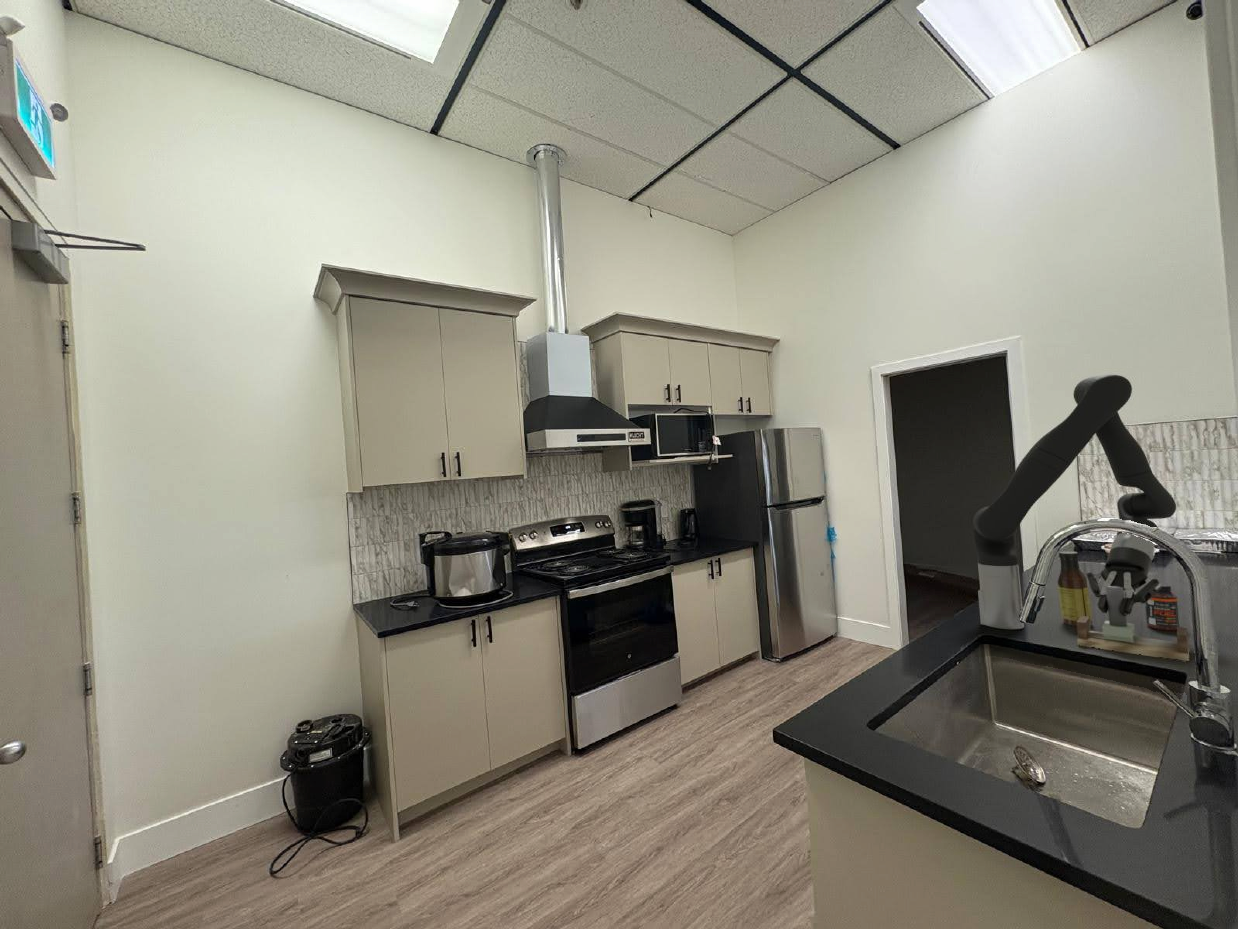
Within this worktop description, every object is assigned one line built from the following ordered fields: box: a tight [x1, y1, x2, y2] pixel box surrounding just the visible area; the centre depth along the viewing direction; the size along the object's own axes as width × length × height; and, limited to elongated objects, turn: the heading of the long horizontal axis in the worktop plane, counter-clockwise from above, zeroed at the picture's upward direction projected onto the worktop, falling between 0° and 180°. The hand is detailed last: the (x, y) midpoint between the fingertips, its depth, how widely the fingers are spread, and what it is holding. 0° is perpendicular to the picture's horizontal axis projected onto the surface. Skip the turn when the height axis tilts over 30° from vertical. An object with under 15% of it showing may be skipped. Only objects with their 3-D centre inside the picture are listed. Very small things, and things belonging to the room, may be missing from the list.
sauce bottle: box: [1057, 550, 1093, 627], centre depth 141 cm, size 7×6×20 cm
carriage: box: [1101, 586, 1136, 643], centre depth 122 cm, size 5×6×12 cm
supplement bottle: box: [1144, 583, 1181, 631], centre depth 134 cm, size 6×6×11 cm
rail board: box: [1076, 616, 1191, 662], centre depth 120 cm, size 18×9×6 cm, turn 41°
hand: (1113, 612), depth 121 cm, fingers closed on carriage, 3 cm apart
